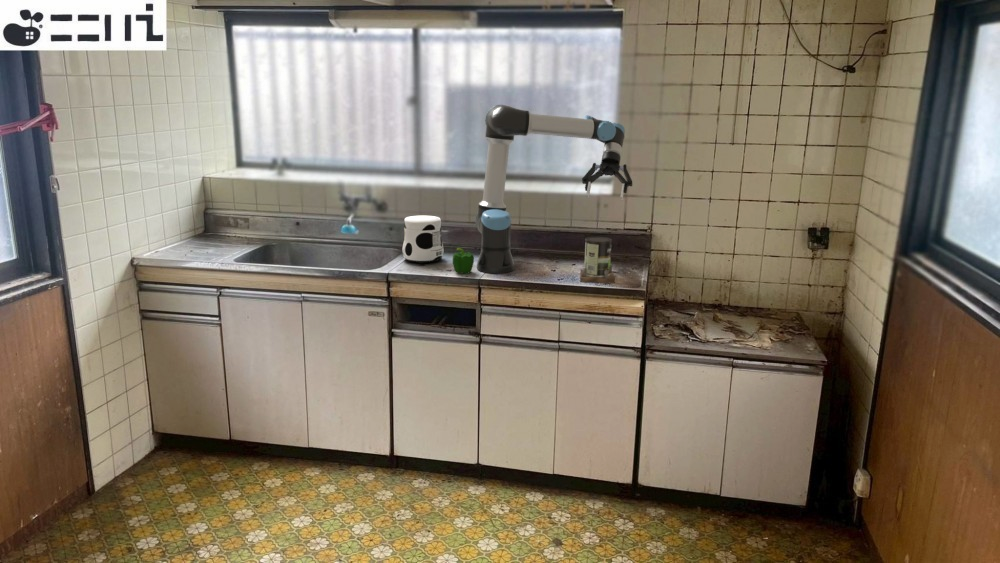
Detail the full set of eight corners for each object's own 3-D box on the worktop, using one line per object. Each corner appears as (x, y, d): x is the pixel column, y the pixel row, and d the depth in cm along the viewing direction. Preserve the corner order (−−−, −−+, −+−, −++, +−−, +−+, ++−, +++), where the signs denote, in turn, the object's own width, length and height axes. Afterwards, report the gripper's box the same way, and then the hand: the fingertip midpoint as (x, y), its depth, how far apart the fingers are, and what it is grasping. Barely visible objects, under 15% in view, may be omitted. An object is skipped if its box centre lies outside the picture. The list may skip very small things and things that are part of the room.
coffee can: (610, 271, 282) (612, 237, 279) (609, 278, 273) (611, 242, 269) (584, 270, 284) (586, 235, 280) (582, 276, 274) (584, 241, 271)
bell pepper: (476, 270, 286) (476, 246, 284) (470, 276, 279) (470, 251, 276) (456, 269, 288) (456, 245, 286) (450, 274, 281) (449, 249, 278)
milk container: (403, 255, 309) (402, 215, 305) (443, 255, 311) (442, 214, 306) (401, 265, 293) (401, 222, 288) (444, 265, 295) (443, 222, 290)
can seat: (580, 281, 273) (580, 269, 272) (580, 273, 286) (580, 261, 284) (614, 283, 272) (615, 271, 271) (613, 274, 284) (613, 263, 283)
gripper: (642, 163, 293) (636, 205, 283) (582, 160, 300) (574, 201, 290) (642, 151, 287) (635, 193, 277) (580, 149, 293) (572, 190, 283)
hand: (604, 197), depth 283 cm, fingers open, 13 cm apart
